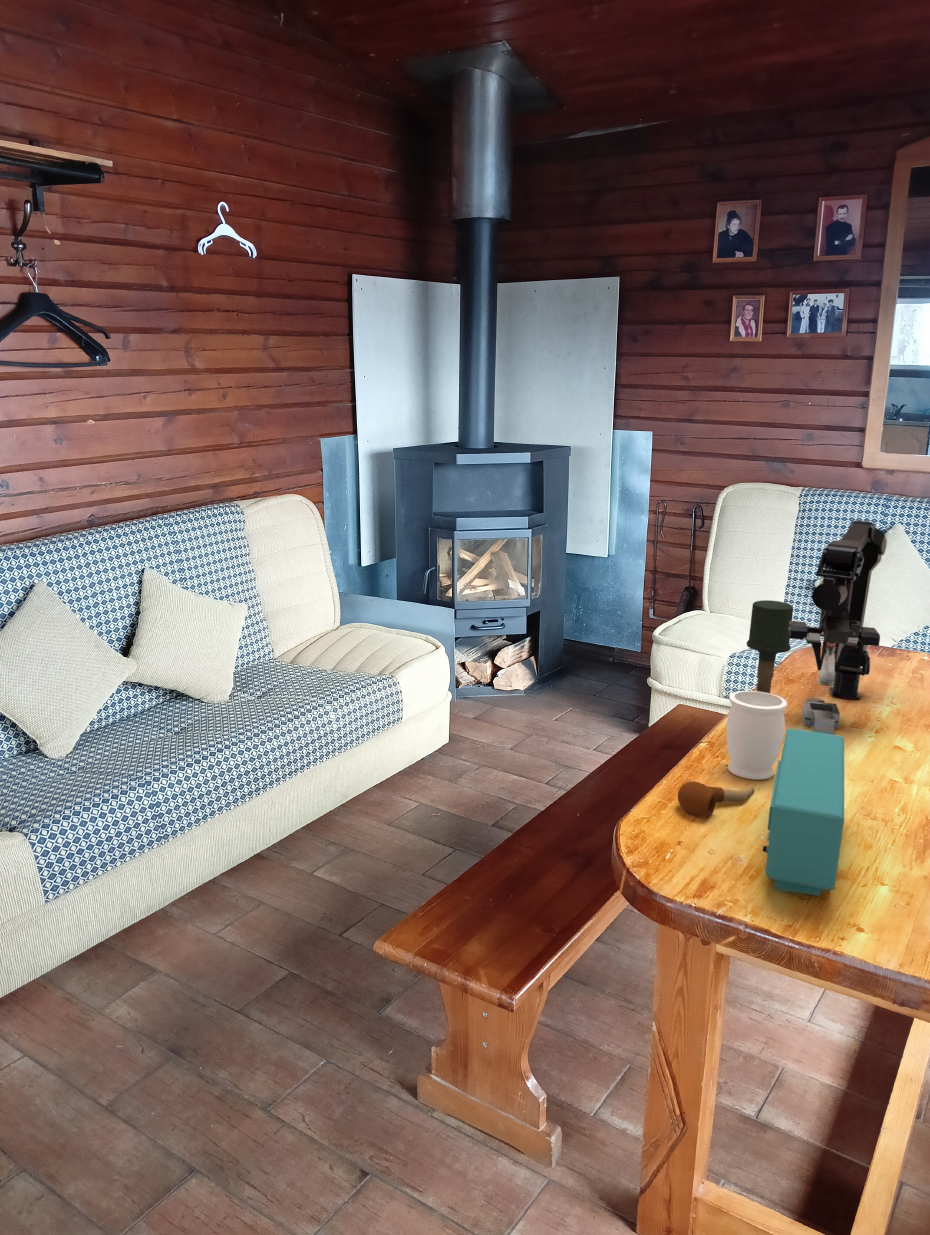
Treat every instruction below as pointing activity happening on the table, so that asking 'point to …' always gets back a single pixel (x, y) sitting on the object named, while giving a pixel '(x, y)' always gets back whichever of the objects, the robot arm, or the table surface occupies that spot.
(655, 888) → the table surface
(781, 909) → the table surface
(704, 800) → the smoking pipe
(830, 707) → the strap
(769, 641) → the potato masher grenade
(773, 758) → the jar
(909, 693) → the table surface
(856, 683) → the robot arm
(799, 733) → the radio
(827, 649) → the link pin
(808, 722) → the lower strap
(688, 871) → the table surface
